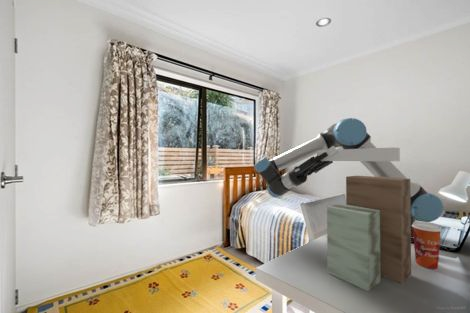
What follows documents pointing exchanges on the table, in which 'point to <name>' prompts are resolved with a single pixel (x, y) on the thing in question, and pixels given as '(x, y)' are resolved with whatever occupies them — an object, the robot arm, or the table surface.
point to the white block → (365, 154)
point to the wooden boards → (370, 232)
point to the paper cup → (426, 243)
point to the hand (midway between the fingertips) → (339, 149)
